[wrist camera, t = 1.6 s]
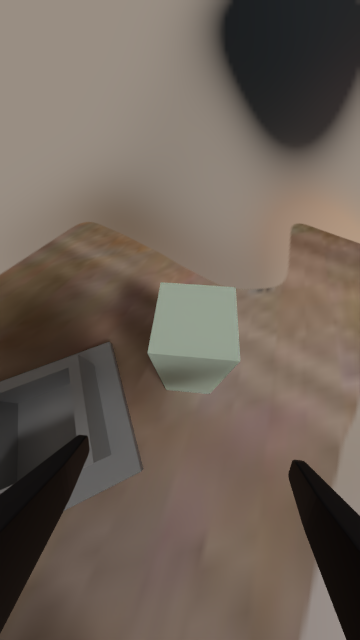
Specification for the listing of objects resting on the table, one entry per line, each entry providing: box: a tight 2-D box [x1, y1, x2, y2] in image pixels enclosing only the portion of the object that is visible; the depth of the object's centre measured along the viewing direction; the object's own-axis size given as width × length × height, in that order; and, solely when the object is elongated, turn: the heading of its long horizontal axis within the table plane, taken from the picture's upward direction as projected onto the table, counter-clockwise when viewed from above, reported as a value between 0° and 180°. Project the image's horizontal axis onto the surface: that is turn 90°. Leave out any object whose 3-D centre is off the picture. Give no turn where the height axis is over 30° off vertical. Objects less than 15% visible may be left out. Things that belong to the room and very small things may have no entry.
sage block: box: [148, 283, 240, 394], centre depth 17 cm, size 5×5×13 cm
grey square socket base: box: [0, 342, 143, 510], centre depth 18 cm, size 14×14×5 cm
